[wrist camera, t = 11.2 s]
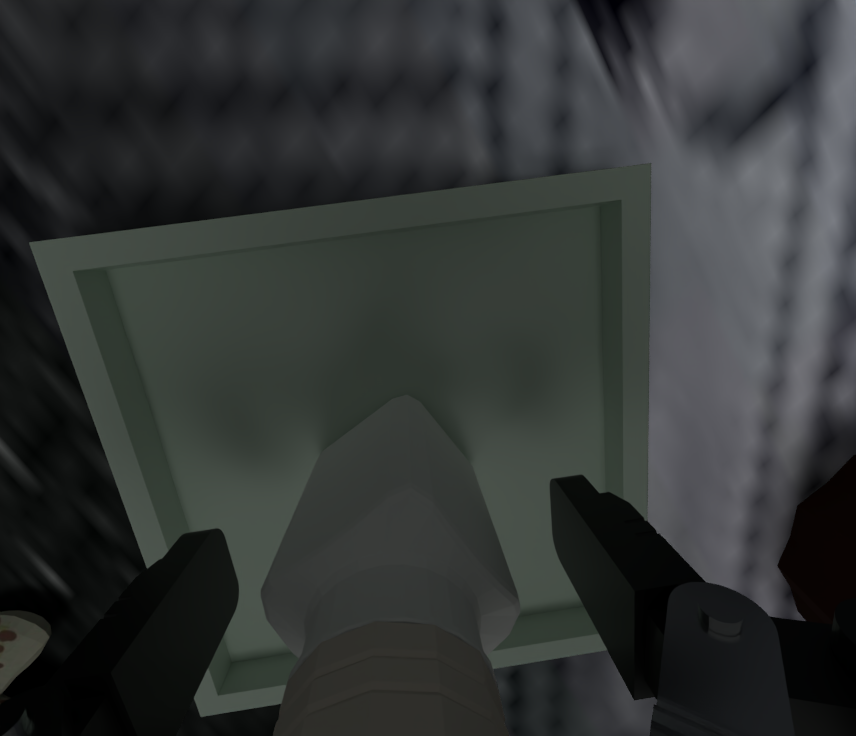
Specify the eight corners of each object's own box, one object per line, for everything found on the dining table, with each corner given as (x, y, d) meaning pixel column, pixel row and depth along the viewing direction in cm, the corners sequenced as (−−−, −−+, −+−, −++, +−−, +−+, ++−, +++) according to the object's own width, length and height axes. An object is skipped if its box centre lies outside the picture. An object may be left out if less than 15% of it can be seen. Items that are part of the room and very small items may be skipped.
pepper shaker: (479, 469, 14) (634, 873, 5) (387, 535, 14) (363, 1026, 5) (407, 381, 13) (423, 669, 4) (311, 453, 13) (111, 875, 4)
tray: (616, 177, 12) (651, 163, 11) (620, 603, 16) (646, 643, 15) (83, 245, 12) (28, 242, 10) (222, 667, 16) (200, 716, 14)
